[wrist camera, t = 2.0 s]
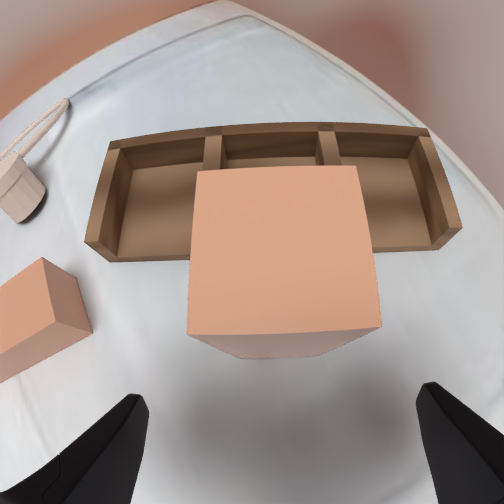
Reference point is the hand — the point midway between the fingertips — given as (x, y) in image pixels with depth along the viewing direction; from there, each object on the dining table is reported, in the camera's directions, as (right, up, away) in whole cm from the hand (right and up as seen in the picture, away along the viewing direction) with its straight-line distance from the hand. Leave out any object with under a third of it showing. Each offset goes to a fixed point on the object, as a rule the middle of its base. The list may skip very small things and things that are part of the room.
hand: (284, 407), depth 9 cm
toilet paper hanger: (-28, +13, +20) cm, 37 cm away
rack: (+1, +9, +15) cm, 17 cm away
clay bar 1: (-20, -3, +13) cm, 24 cm away
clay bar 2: (+1, 0, +12) cm, 12 cm away
